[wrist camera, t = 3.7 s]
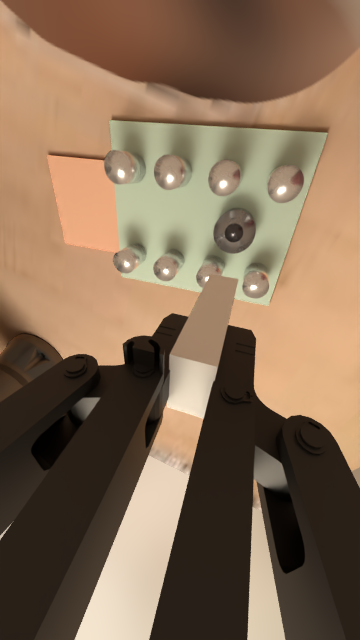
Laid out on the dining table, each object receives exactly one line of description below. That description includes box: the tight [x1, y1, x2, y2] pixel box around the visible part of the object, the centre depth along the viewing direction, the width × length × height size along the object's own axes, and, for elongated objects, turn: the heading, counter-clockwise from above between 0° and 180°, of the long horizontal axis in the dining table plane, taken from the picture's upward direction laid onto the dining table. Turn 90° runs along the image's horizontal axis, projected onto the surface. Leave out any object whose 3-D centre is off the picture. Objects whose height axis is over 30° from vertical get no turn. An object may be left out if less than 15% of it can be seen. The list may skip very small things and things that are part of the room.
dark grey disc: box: [213, 208, 256, 254], centre depth 28 cm, size 5×5×2 cm
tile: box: [47, 155, 120, 253], centre depth 34 cm, size 10×12×1 cm
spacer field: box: [109, 120, 328, 306], centre depth 31 cm, size 24×20×1 cm
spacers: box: [104, 150, 304, 299], centre depth 29 cm, size 21×14×4 cm
